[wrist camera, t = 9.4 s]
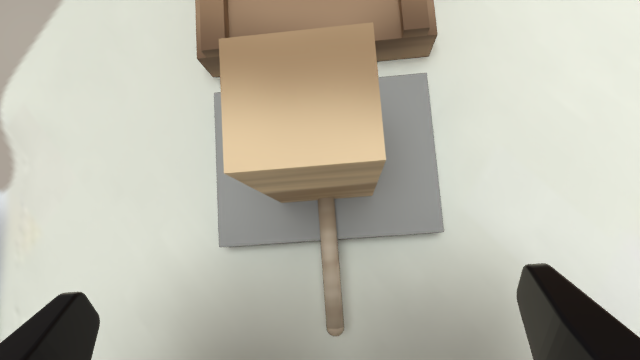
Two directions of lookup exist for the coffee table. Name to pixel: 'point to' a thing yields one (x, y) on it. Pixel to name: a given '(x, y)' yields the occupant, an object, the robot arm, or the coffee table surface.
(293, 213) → the grey rubber pad
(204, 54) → the walnut shelf lane
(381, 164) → the oak mallet
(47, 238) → the coffee table surface
